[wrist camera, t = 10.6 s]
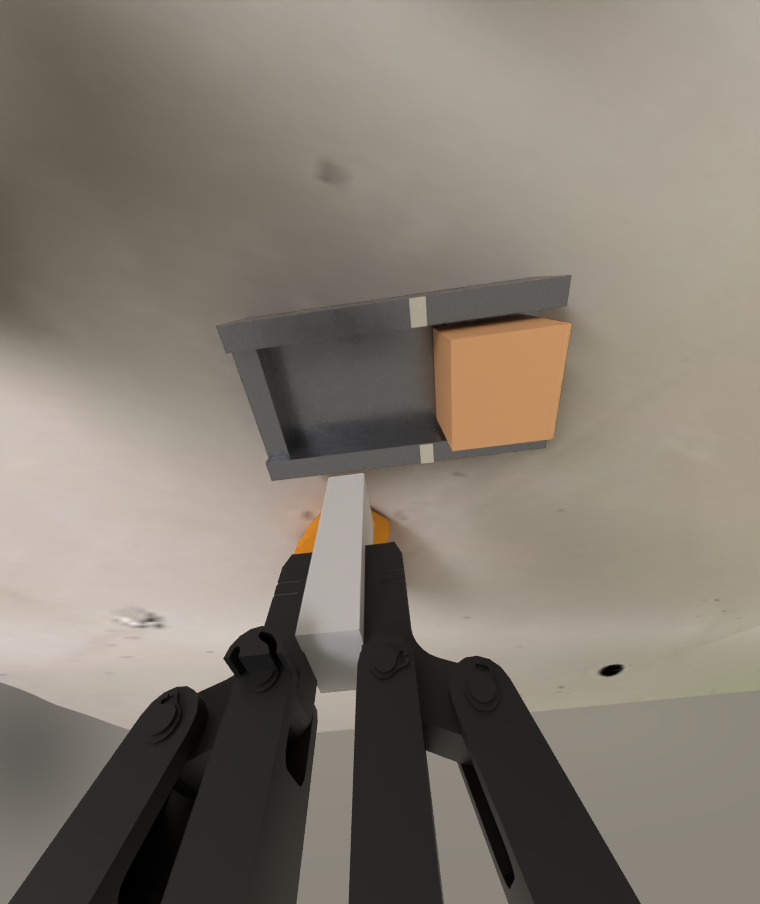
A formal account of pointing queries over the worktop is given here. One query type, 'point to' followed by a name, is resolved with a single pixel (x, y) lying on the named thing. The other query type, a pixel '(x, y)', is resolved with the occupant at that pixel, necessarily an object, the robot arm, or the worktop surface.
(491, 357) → the slider block
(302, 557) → the robot arm
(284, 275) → the worktop surface
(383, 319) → the chute
